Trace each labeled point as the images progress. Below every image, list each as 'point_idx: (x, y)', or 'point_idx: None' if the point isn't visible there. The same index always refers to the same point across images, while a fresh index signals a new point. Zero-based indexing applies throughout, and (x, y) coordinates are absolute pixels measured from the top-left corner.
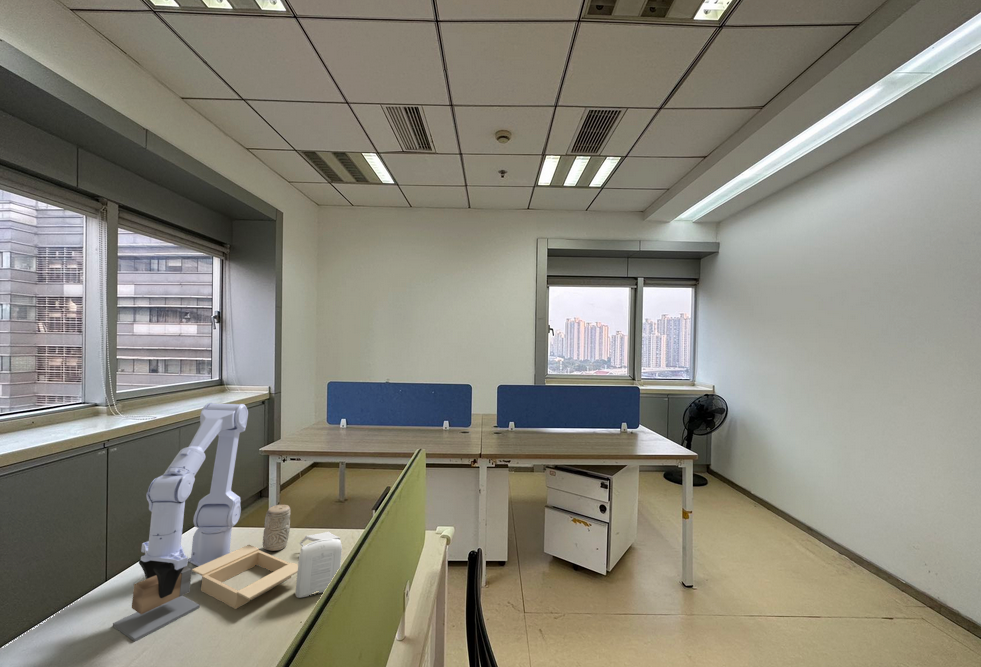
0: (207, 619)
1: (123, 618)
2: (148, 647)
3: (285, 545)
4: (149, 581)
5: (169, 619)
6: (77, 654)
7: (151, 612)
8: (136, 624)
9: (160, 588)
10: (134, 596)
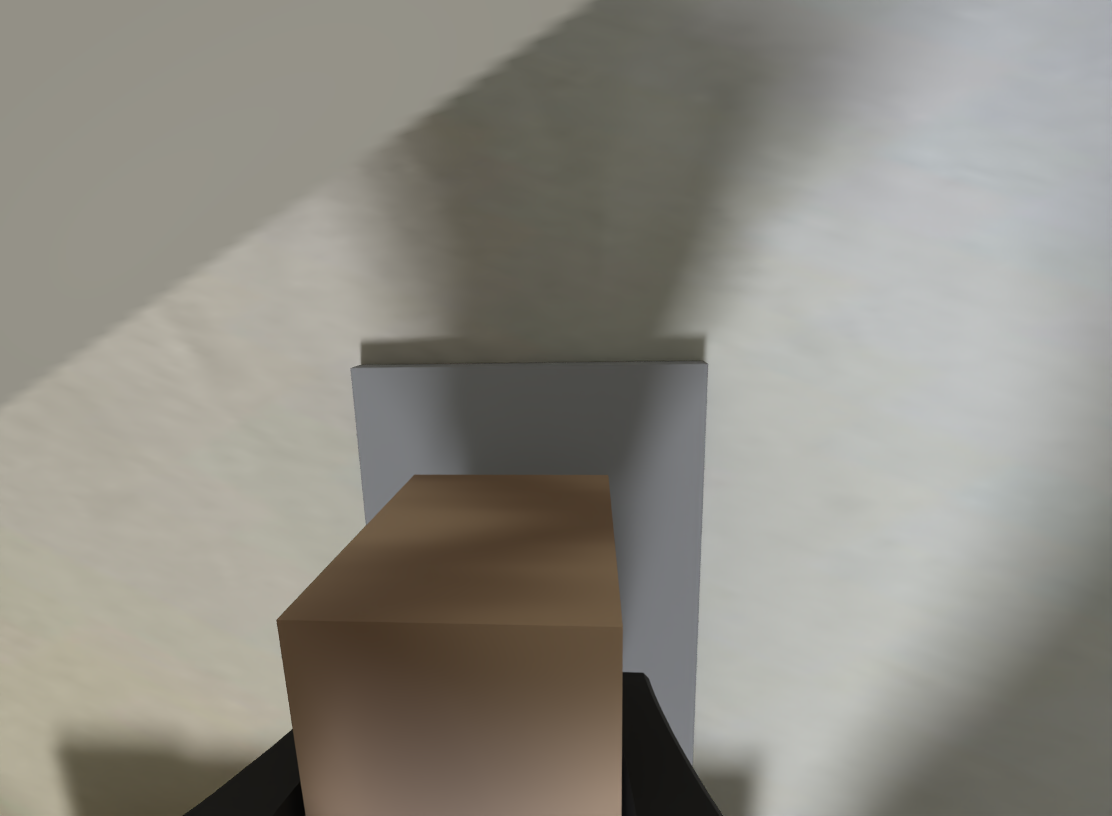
0: (225, 704)
1: (703, 432)
2: (221, 387)
3: None
4: (493, 773)
5: None
6: (550, 81)
7: None
8: (528, 448)
9: (275, 749)
10: (572, 531)
